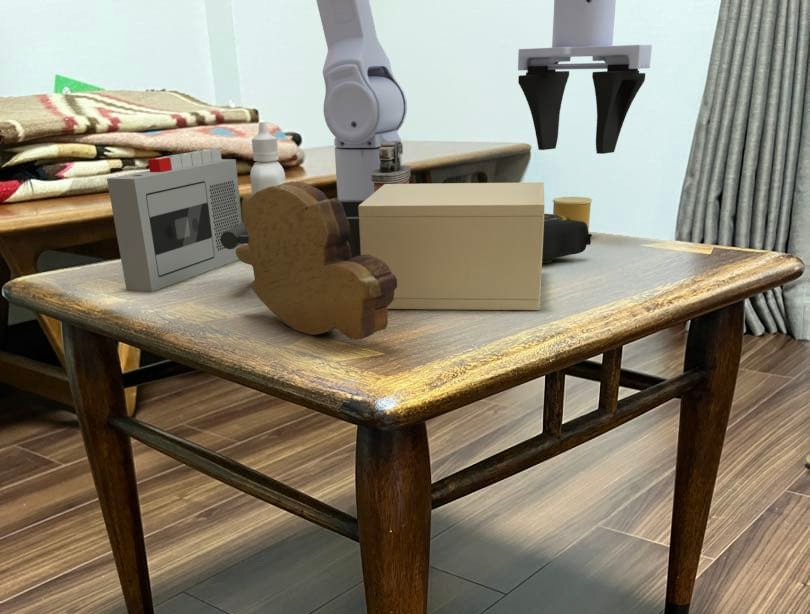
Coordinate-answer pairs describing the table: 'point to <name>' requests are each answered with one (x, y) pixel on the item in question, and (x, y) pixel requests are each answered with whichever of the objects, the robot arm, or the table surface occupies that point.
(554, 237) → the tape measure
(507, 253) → the lidded cardboard box
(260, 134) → the eye dropper bottle
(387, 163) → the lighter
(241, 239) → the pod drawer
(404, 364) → the table surface
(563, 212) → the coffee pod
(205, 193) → the cassette player
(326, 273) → the wooden carving
